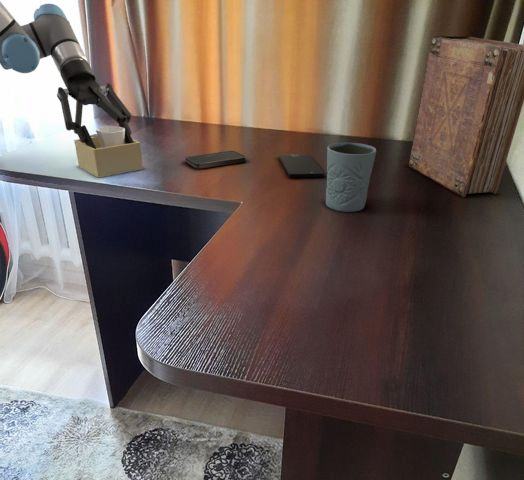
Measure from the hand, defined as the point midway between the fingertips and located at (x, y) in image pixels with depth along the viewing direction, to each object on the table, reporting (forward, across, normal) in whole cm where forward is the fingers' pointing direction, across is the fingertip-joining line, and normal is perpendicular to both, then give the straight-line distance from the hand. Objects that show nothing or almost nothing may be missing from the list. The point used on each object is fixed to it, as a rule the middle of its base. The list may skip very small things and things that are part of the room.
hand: (113, 149), depth 124 cm
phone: (+9, -25, +2) cm, 27 cm away
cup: (+1, 0, -5) cm, 5 cm away
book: (+42, -64, +35) cm, 84 cm away
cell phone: (+21, -40, +14) cm, 47 cm away
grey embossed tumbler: (+40, -29, +32) cm, 59 cm away
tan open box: (+1, 0, -6) cm, 6 cm away
